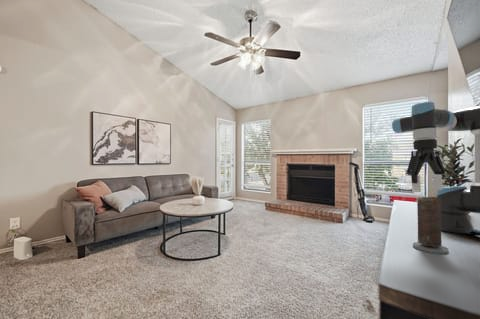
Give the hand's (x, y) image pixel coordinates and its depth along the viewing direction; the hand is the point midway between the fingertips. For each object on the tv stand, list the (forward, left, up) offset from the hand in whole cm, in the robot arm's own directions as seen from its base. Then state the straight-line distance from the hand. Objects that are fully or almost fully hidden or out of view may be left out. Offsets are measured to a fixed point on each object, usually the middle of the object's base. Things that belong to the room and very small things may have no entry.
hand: (427, 190), depth 91 cm
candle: (0, 0, -23) cm, 23 cm away
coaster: (0, 0, -24) cm, 24 cm away
